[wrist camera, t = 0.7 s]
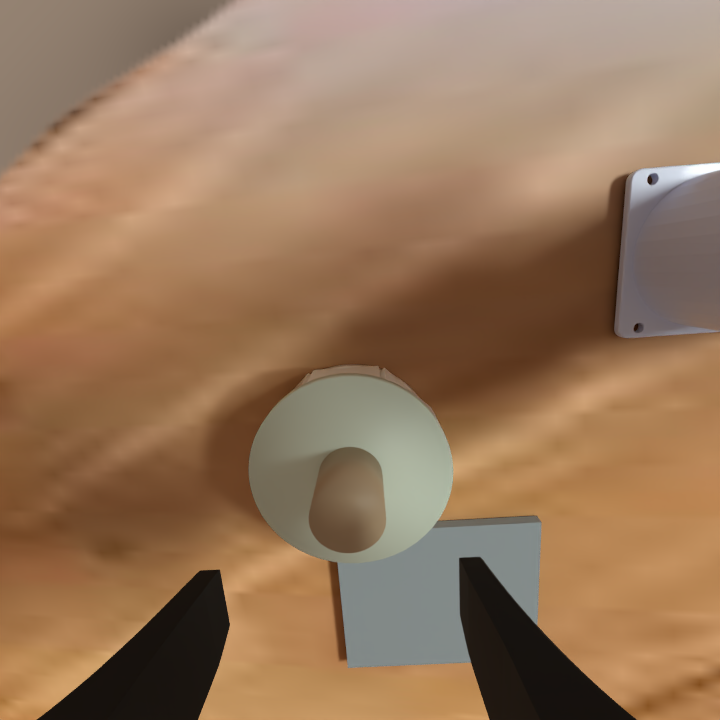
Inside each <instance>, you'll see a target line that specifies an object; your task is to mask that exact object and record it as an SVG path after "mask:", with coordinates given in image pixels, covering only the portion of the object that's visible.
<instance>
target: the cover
mask: <svg viewBox="0 0 720 720" xmlns="http://www.w3.org/2000/svg"><path fill="white" fill-rule="evenodd" d="M248 471H249V482H250V487H251V491H252V495H253V498H254V500H255V503H256V505H257V507H258V509H259V511H260V513H261V515H262V516H263V518H264V519H265V520H266V522H267V523H268V525H269V526H270V527H271V528H272V529H273V530H274V531H275V532H276V533H277V534H278V535H279V536H280V537H281V538H282V539H284V540H285V541H286V542H287V543H289V544H290V545H292V546H293V547H295V548H297V549H298V550H300V551H302V552H304V553H306V554H309V555H311V556H314V557H317V558H320V559H323V560H328V561H332V562H340V563H365V562H372V561H377V560H381V559H385V558H387V557H390V556H393V555H396V554H398V553H400V552H402V551H404V550H406V549H407V548H409V547H411V546H412V545H414V544H415V543H417V542H418V541H419V540H420V539H421V538H423V537H424V536H425V535H426V534H427V533H428V532H429V531H430V530H431V529H432V527H433V526H434V525H435V524H436V522H437V521H438V519H439V518H440V516H441V515H442V513H443V511H444V509H445V507H446V505H447V502H448V499H449V496H450V493H451V488H452V483H453V462H452V455H451V451H450V447H449V444H448V442H447V439H446V437H445V434H444V432H443V430H442V428H441V426H440V424H439V423H438V421H437V419H436V417H435V416H434V415H433V413H432V412H431V411H430V409H429V408H428V407H427V406H426V405H425V404H424V403H423V402H422V401H421V400H420V399H419V398H418V397H417V396H415V395H414V394H413V393H411V392H410V391H409V390H407V389H405V388H404V387H402V386H400V385H398V384H396V383H394V382H392V381H389V380H386V379H384V378H380V377H376V376H373V375H367V374H359V373H341V374H334V375H328V376H324V377H320V378H317V379H314V380H312V381H309V382H307V383H304V384H303V385H301V386H299V387H297V388H296V389H294V390H292V391H291V392H290V393H288V394H287V395H286V396H284V397H283V398H282V399H281V400H280V401H279V402H278V403H277V404H276V405H275V406H274V407H273V409H272V410H271V411H270V413H269V414H268V415H267V417H266V418H265V420H264V421H263V423H262V424H261V426H260V428H259V430H258V432H257V433H256V436H255V438H254V441H253V444H252V447H251V452H250V457H249V469H248Z"/></svg>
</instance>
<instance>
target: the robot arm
mask: <svg viewBox="0 0 720 720" xmlns="http://www.w3.org/2000/svg"><path fill="white" fill-rule="evenodd" d="M649 175H650V176H651V177H652V183H651V185H649V184H648V182H647V178H648V176H649ZM637 323H638V326H639V327H638V329H637V330H636V331H634V329H633V328H634V326H635V325H636V324H637ZM614 330H615V333H616V335H618V336H619V337H623V338H637V337H652V336H667V335H681V334H696V333H711V332H720V162H717V163H705V164H693V165H680V166H668V167H656V168H643V169H639V170H636V171H634V172H632V173H631V174H630V175H629V176H628V178H627V181H626V189H625V201H624V214H623V226H622V239H621V251H620V263H619V276H618V288H617V301H616V313H615V326H614ZM459 596H460V618H461V622H462V627H463V632H464V636H465V641H466V645H467V649H468V654H469V657H470V660H471V663H472V667H473V670H474V673H475V676H476V679H477V682H478V685H479V688H480V691H481V695H482V698H483V701H484V704H485V707H486V710H487V713H488V716H489V719H490V720H636V719H635V718H634V717H633V716H631V715H630V714H629V713H628V712H627V711H625V710H624V709H623V708H622V707H621V706H619V705H618V704H617V703H616V702H615V701H614V700H613V699H612V698H610V697H609V696H608V695H607V694H606V693H605V692H604V691H602V690H601V689H600V688H599V687H598V686H597V685H596V684H595V683H594V682H593V681H592V680H590V679H589V678H588V677H587V676H586V675H585V674H584V673H583V672H582V671H581V670H580V669H579V668H578V667H577V666H576V665H575V664H574V663H573V662H572V661H571V660H570V659H569V658H568V657H567V656H566V655H565V654H564V653H563V652H562V651H561V650H560V649H559V648H558V647H557V646H556V645H555V644H554V643H553V642H552V641H551V640H550V639H549V638H548V637H547V636H546V635H545V634H544V633H543V631H542V630H541V629H540V628H539V627H538V626H537V625H536V624H535V623H534V622H533V620H532V619H531V618H530V617H529V616H528V615H527V614H526V612H525V611H524V610H523V609H522V608H521V607H520V606H519V604H518V603H517V602H516V601H515V600H514V598H513V597H512V596H511V595H510V594H509V592H508V591H507V590H506V589H505V587H504V586H503V585H502V584H501V582H500V581H499V580H498V579H497V577H496V576H495V575H494V574H493V572H492V571H491V570H490V568H489V567H488V566H487V564H486V563H485V562H484V560H483V559H482V558H481V557H463V558H459ZM229 626H230V623H229V617H228V612H227V606H226V601H225V595H224V590H223V585H222V579H221V574H220V570H203V571H199V572H198V573H197V574H196V575H195V576H194V577H193V578H192V579H191V580H190V581H189V582H188V583H187V584H186V585H185V586H184V587H183V588H182V589H181V590H180V591H179V592H178V593H177V594H176V595H175V596H174V597H173V598H172V599H171V600H170V601H169V602H168V603H167V604H166V605H165V606H164V607H163V608H162V609H161V610H160V611H159V612H158V613H157V614H156V615H155V616H154V617H153V618H152V619H151V620H150V621H149V622H148V623H147V624H146V625H145V626H144V627H143V628H142V629H141V630H140V631H139V632H138V633H137V634H136V635H135V636H134V637H133V638H132V639H131V640H130V641H129V642H127V643H126V644H125V645H124V646H123V647H122V648H121V649H120V650H119V651H118V652H117V653H116V654H115V655H113V656H112V657H111V658H110V659H109V660H108V661H107V662H106V663H105V664H104V665H103V666H102V667H100V668H99V669H98V670H97V671H96V672H95V673H94V674H92V675H91V676H90V677H89V678H88V679H87V680H85V681H84V682H83V683H82V684H81V685H80V686H78V687H77V688H76V689H75V690H74V691H72V692H71V693H70V694H69V695H67V696H66V697H65V698H64V699H63V700H61V701H60V702H59V703H58V704H56V705H55V706H54V707H53V708H51V709H50V710H49V711H48V712H46V713H45V714H44V715H42V716H41V717H40V718H38V719H37V720H198V718H199V715H200V713H201V710H202V708H203V705H204V703H205V700H206V698H207V695H208V692H209V690H210V687H211V685H212V682H213V679H214V677H215V674H216V671H217V669H218V666H219V663H220V659H221V656H222V652H223V649H224V645H225V642H226V638H227V634H228V630H229Z"/></svg>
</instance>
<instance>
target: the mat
mask: <svg viewBox="0 0 720 720" xmlns="http://www.w3.org/2000/svg"><path fill="white" fill-rule="evenodd" d="M540 544H541V521H540V520H539V518H538V517H537V516H523V517H505V518H486V519H468V520H450V521H437V522H436V524H435V525H434V526H433V527H432V529H431V530H430V531H429V532H428V533H427V534H426V535H425V536H424V537H423V538H421V539H420V540H419V541H418V542H417V543H415V544H414V545H412V546H411V547H409V548H407V549H406V550H404V551H402V552H400V553H398V554H396V555H393V556H390V557H387V558H385V559H381V560H377V561H372V562H365V563H340V562H337V563H338V573H339V583H340V593H341V603H342V612H343V622H344V632H345V642H346V652H347V662H348V668H354V667H377V666H400V665H423V664H446V663H469V662H471V660H470V657H469V654H468V649H467V645H466V641H465V636H464V632H463V627H462V622H461V618H460V596H459V558H463V557H481V558H482V559H483V560H484V562H485V563H486V564H487V566H488V567H489V568H490V570H491V571H492V572H493V574H494V575H495V576H496V577H497V579H498V580H499V581H500V582H501V584H502V585H503V586H504V587H505V589H506V590H507V591H508V592H509V594H510V595H511V596H512V597H513V598H514V600H515V601H516V602H517V603H518V604H519V606H520V607H521V608H522V609H523V610H524V611H525V612H526V614H527V615H528V616H529V617H530V618H531V619H532V620H533V622H534V623H535V624H536V625H537V617H538V593H539V568H540Z"/></svg>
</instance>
